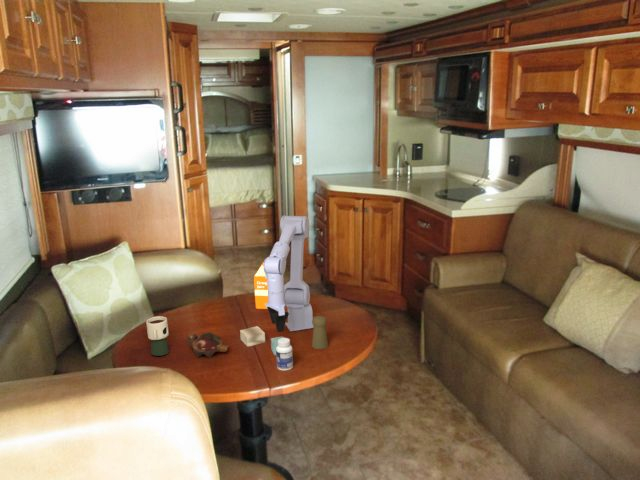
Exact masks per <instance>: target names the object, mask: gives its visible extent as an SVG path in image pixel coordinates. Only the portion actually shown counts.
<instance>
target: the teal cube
mask: <svg viewBox="0 0 640 480" xmlns="http://www.w3.org/2000/svg"><path fill="white" fill-rule="evenodd" d="M281 338H285V337H284V336H276V337H271V338H270V347H271V348H270V349H271V351H272V353H273V355H274V356H276V347H277V346H278V340H279V339H281Z"/></svg>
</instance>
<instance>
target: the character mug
mask: <svg viewBox="0 0 640 480" xmlns="http://www.w3.org/2000/svg"><path fill="white" fill-rule="evenodd" d="M145 322H146V331H147V333H146V334H147V338H148V339H149V340H151V342H150V354H151V355H152V356H156V357H157V356H158V357H159V356H166V355H167V354H169V353H170V346H169V343H168V339H167V337H168V336H170V335H169V324H168V323H169V322H168V318H167V316H163V315H158V316H153V317H150V318H148V319H147V320H146V321H145Z"/></svg>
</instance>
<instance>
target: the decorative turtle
mask: <svg viewBox="0 0 640 480" xmlns="http://www.w3.org/2000/svg"><path fill="white" fill-rule="evenodd" d="M185 340H186V343H187V344H188V345H189V347H191V348H192V350H193V353H194V354H195V356H196V358H201V357H202V356H203V355H205V356H206V357H207V358H208V359H211V358H213V356H214V354H215V353H216V352H217V353H219V352H220V353H222V352H223V353H225V352H227V351H228V350H229V344H228V343H226V342H224V340H223V339H222V337H220V336H219V335H218V334H215V333H212V332H211V333H209V332H207V333H202V334H201V335H200V336H199V337H198V335H197V334H196V333H189V334H187V336H186V338H185Z"/></svg>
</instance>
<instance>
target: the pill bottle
mask: <svg viewBox="0 0 640 480" xmlns="http://www.w3.org/2000/svg"><path fill="white" fill-rule="evenodd" d="M275 356H276V368H277V369H278V370H279V371H282V372H283V371H284V372H285V371H290V370H292V368H294V358H293V346H292V345H291V339H290V338H288V337H284V338H281V339H279V340H278V346H277V347H276V355H275Z"/></svg>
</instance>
